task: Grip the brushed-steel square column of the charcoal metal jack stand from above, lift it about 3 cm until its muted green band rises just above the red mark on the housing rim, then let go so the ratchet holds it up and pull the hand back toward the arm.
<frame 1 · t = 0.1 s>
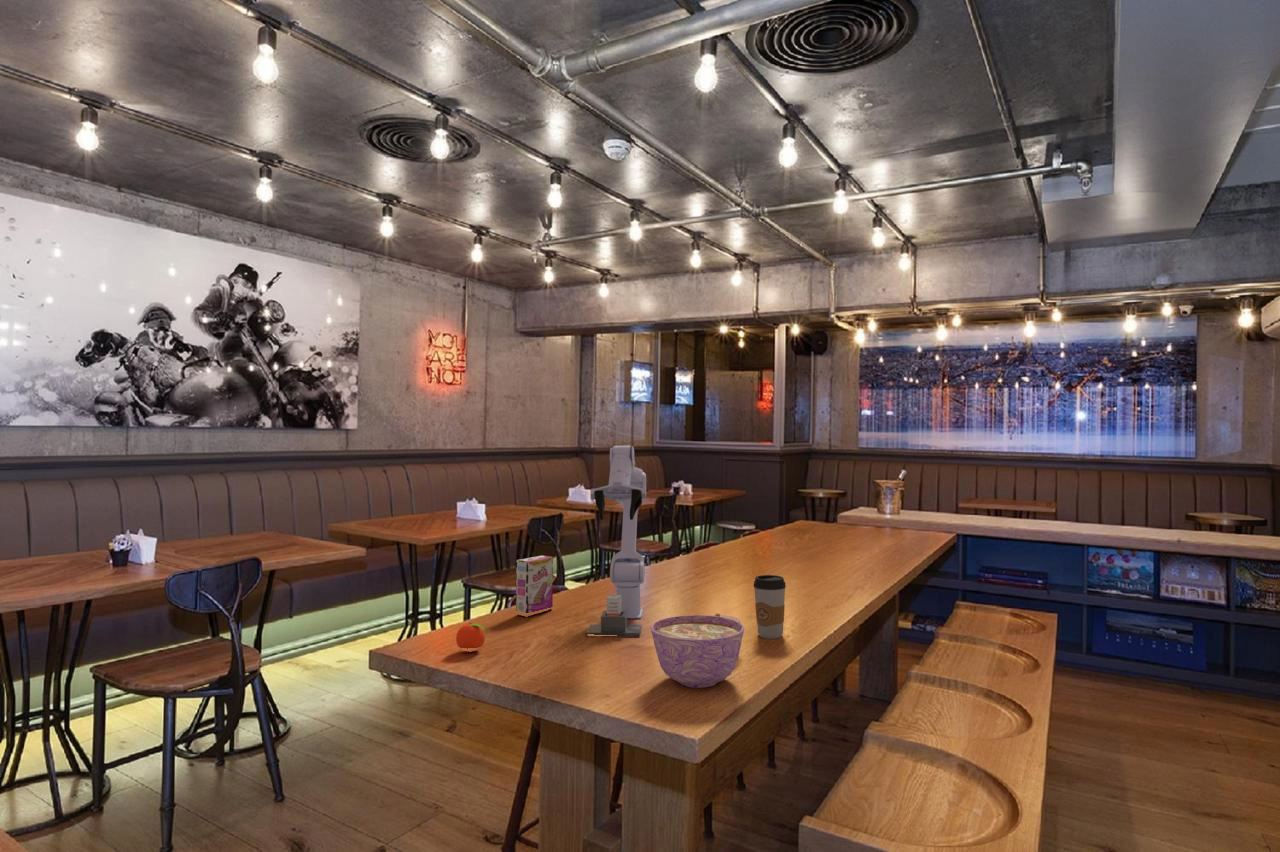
hand: (616, 517, 180), 32 cm above the table, tool tilted 50°, fingers open, 7 cm apart
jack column: (614, 612, 189), point 5 cm above the table, slide at 0.0 cm
coffee cup: (770, 636, 184), on the table
jack housing: (614, 632, 189), on the table
lidded jar: (718, 653, 170), on the table
clementine: (472, 652, 174), on the table
candy bar box: (535, 613, 212), on the table
bowl of food: (698, 682, 151), on the table
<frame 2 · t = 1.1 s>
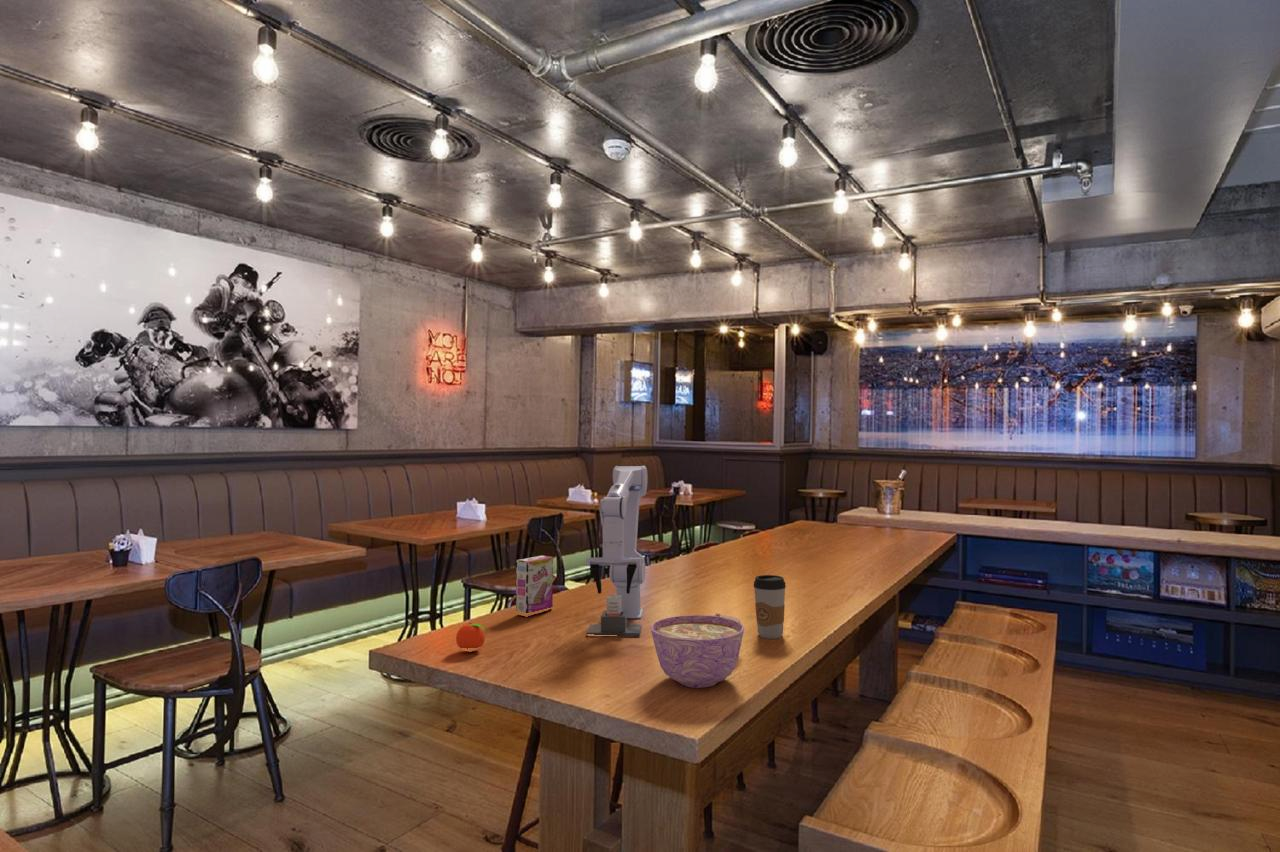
hand: (613, 592, 189), 11 cm above the table, tool pointing down, fingers open, 7 cm apart
nothing on the table moved.
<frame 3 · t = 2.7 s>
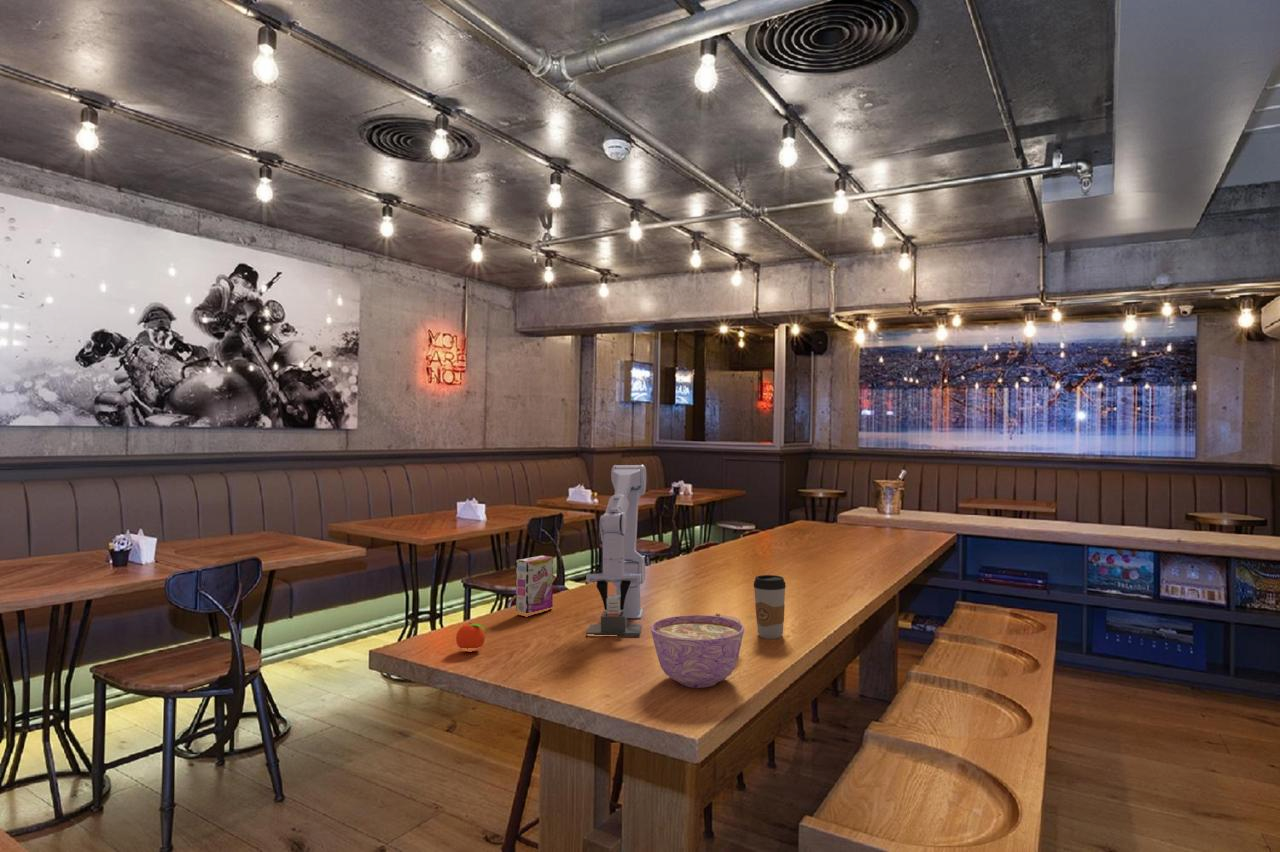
hand: (614, 609, 189), 6 cm above the table, tool pointing down, fingers closed on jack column, 4 cm apart
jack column: (614, 612, 189), point 5 cm above the table, slide at 0.0 cm, touching gripper
everything else where it was.
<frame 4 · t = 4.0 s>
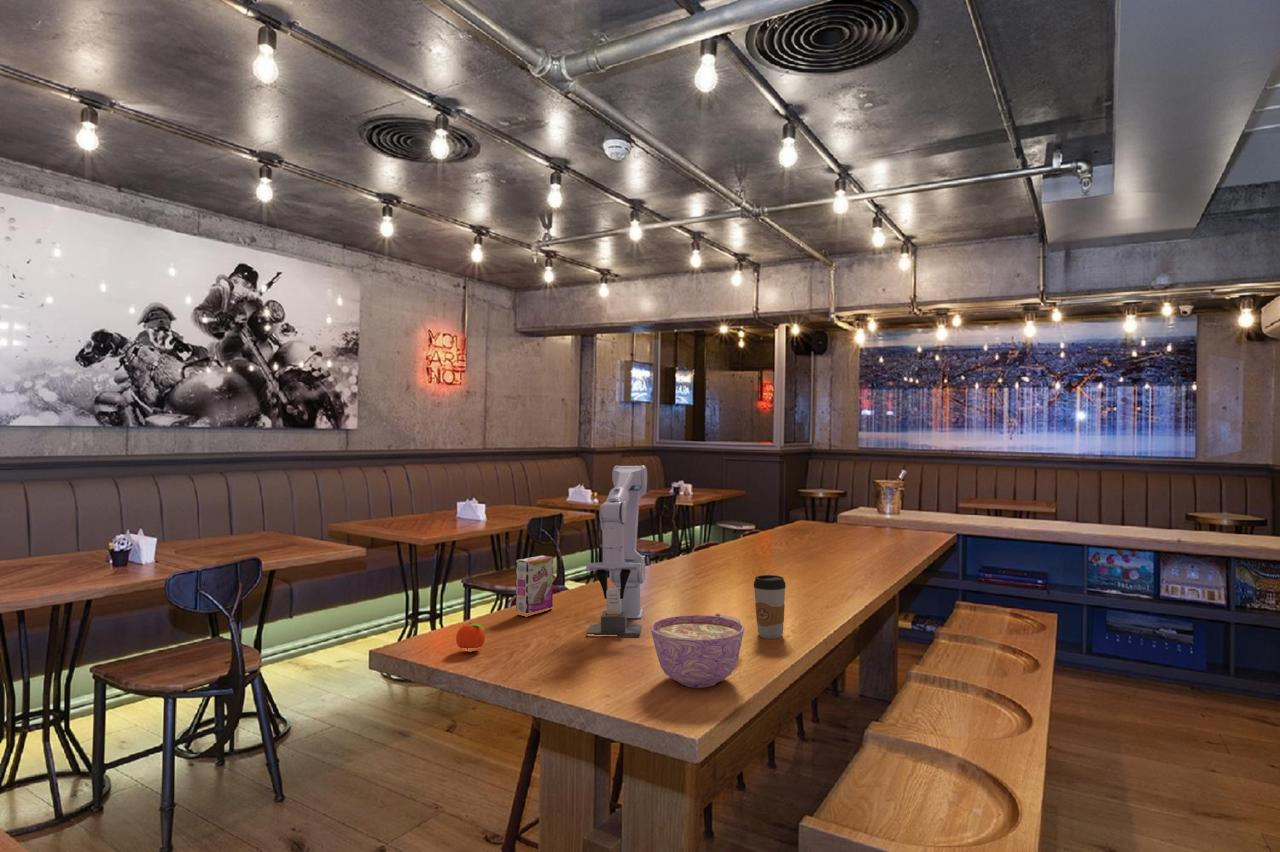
hand: (614, 597, 190), 9 cm above the table, tool pointing down, fingers closed on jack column, 4 cm apart
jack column: (614, 604, 189), point 8 cm above the table, slide at 2.2 cm, touching gripper
everything else where it was.
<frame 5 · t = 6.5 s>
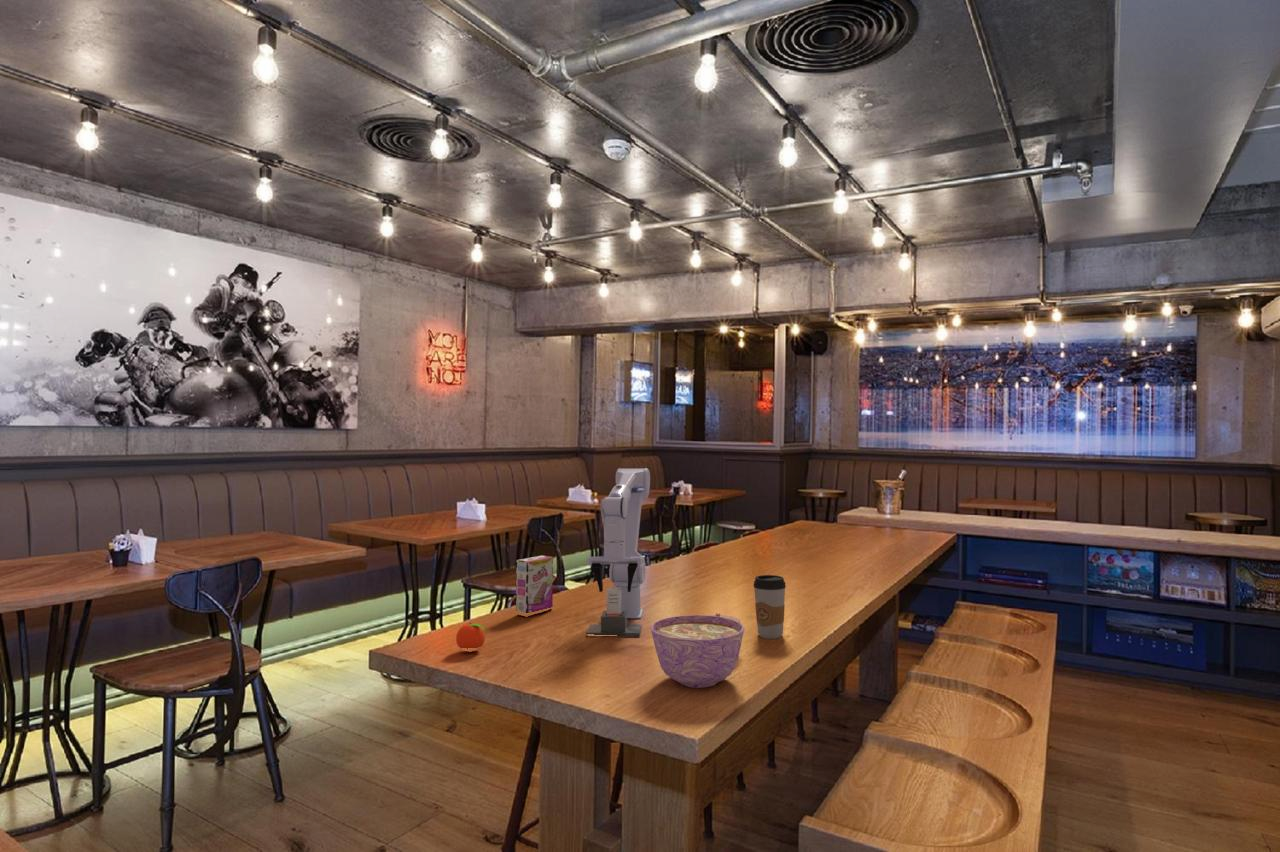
hand: (615, 591, 192), 10 cm above the table, tool pointing down, fingers open, 7 cm apart
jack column: (614, 604, 189), point 8 cm above the table, slide at 2.2 cm
everything else where it was.
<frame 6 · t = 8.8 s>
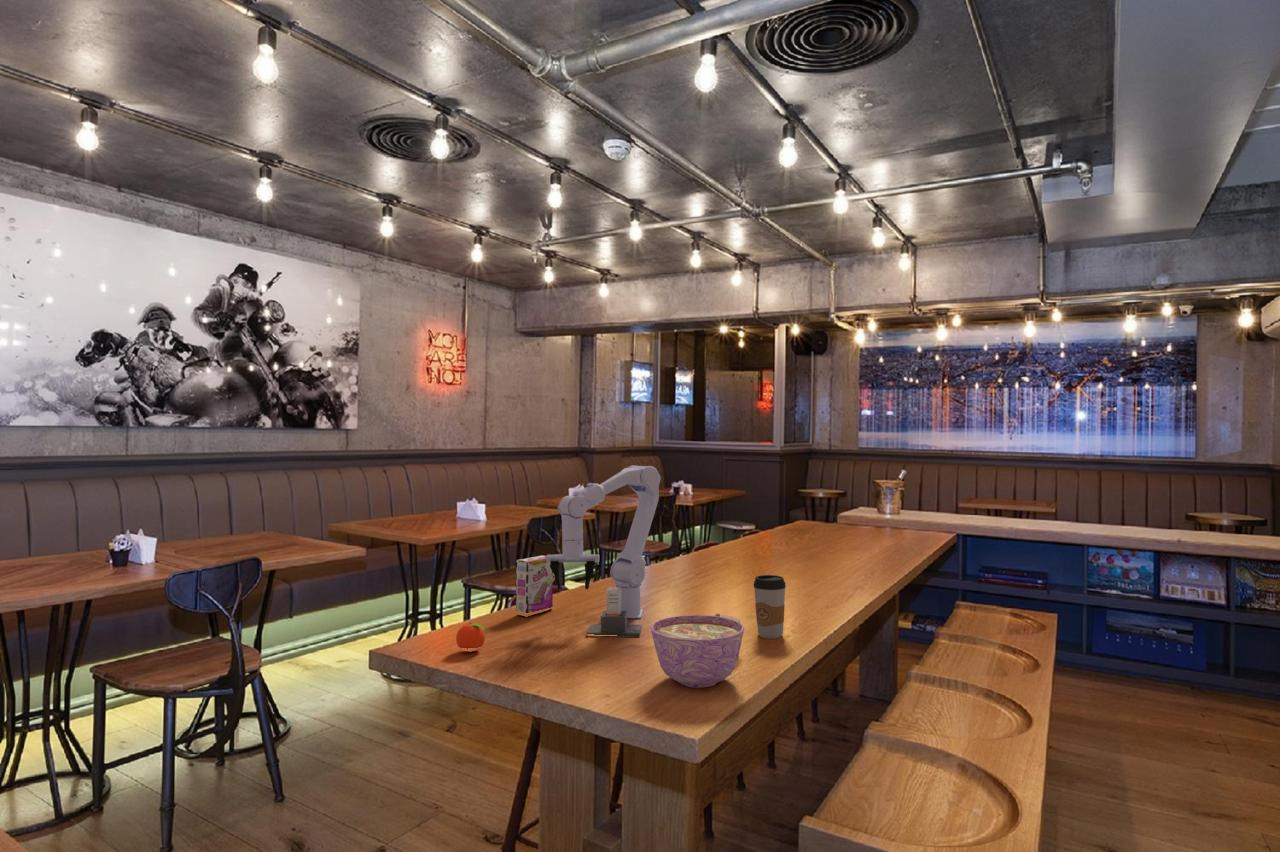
hand: (573, 588, 196), 10 cm above the table, tool pointing down, fingers open, 7 cm apart
nothing on the table moved.
at the end: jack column slide at 2.2 cm; the gripper is holding nothing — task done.
